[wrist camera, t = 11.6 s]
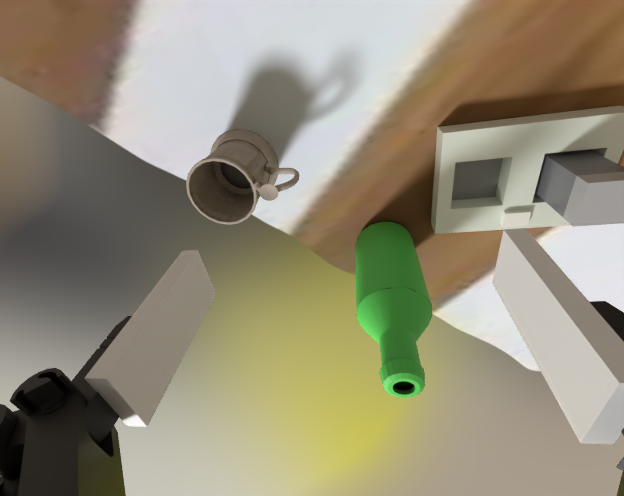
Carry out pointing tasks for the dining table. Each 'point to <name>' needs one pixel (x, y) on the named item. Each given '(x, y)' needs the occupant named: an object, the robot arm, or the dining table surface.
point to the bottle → (393, 303)
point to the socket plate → (512, 166)
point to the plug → (583, 187)
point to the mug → (247, 159)
